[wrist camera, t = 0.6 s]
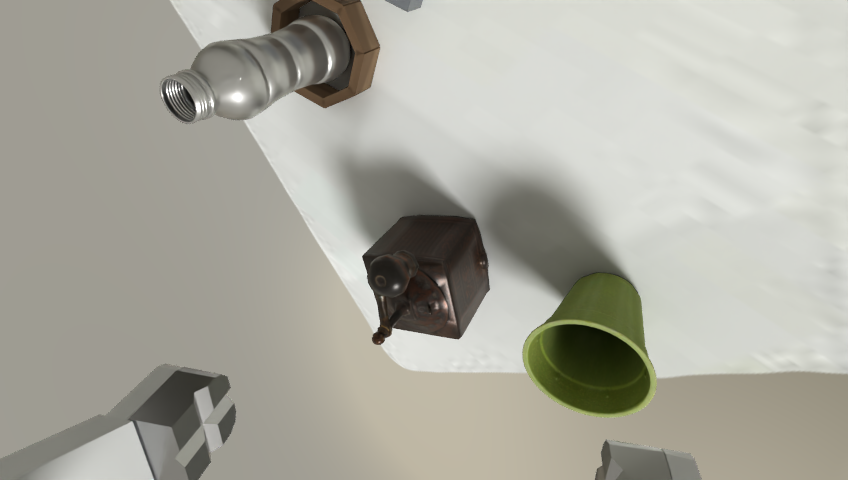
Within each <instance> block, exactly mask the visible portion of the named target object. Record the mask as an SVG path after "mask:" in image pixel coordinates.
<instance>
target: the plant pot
mask: <svg viewBox="0 0 848 480" xmlns="http://www.w3.org/2000/svg"><path fill="white" fill-rule="evenodd" d="M523 362H524V366H525V369H526V371H527V373H528V375H529V376H530V378H531V379H532V381H533V382H534V383H535V385H536V386H537V387H538V388H539V389H540V390H541V391H542V392H543V393H544V394H546V395H547V396H548V397H549V398H551V399H553V400H554V401H556V402H557V403H559V404H560V405H562V406H564V407H566V408H568V409H571V410H573V411H576V412H578V413H582V414H585V415H590V416H596V417H607V418H609V417H622V416H626V415H630V414H633V413H636V412H638V411H639V410H641V409H643V408H644V407H645V406H647V405H648V404H649V402H650V401H651V400H652V398H653V396H654V394H655V391H656V385H657V380H656V374H655V370H654V367H653V365H652V363H651V361H650V359H649V358H648V353H647V350H646V347H645V339H644V329H643V317H642V306H641V299H640V296H639V295H638V293H637V292H636V290H635V289H634V287H633V286H632V285H631V284H630V283H629V282H628V281H626V280H624V279H623V278H621V277H618V276H616V275H613V274H608V273H594V274H591V275H588V276H585V277H583V278H581V279H579V280H578V281H577V282H576V283H575V285H574V286H573V287H572V289H571V290H570V291H569V293H568V294H567V296H566V297H565V298H564V300H563V301H562V303H561V304H560V305H559V307H558V308H557V310H556V311H555V312H554V314H553V315H552V316H551V317H550V318H549V319H548V320H547V321H546V322H545V323H544V324H542V325H541V326H539V327H537V328H536V329H535V330H534V331H532V332H531V334H530V335H529V336H528V337H527V339H526V341H525V343H524V347H523Z"/></svg>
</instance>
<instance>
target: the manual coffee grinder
mask: <svg viewBox="0 0 848 480" xmlns="http://www.w3.org/2000/svg"><path fill="white" fill-rule="evenodd" d="M362 258H363V261H364V264H365V267H366V270H367V274H368V275H367V279H368V283H369V285H370V287H371V289H372V290H373V292H374V295H375V298H376V301H377V305H378V312H379V318H380V327H379V328H378V331H377V332H376V333H374V334H373V337H372V341H373V343H374V344H376V345H381V344H382V343H383V342H384V341H385V338H387V337H389V336H391V335H392V328H396V329H401V330H407V331H413V332H418V333H424V334H429V335H435V336H441V337H447V338H453V339H460V338H461V337H462V335H463V334H464V332H465V330H466V328H467V327H468V325H469V323H470V321H471V320H472V318H473V316H474V314H475V313H476V311H477V309H478V307H479V305H480V304H481V302H482V300H483V298H484V297H485V295H486V293H487V292H488V291H489V290H490V287H489V278H488V266H489V265H488V259H487V255H486V252H485V250H484V247H483V243H482V238H481V234H480V231H479V228H478V226H477V223H476V221H475V219H469V218H463V217H457V216H437V215H417V216H408V217H402V218H400V219H399V221H398V222H397V223H396V224H395V225H394V226H392V227H391V228H390V229H389V230H388V231H387V232H386V233H385V234H384V235H383V236H382V237H381V238H380V239H379V240H378V241H377V242H376V243H375V244H374V245H373V246H372V247H371V248H370V249H369V250H368V251H367V252H366V253H365V254H364V255H363V256H362Z"/></svg>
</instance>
